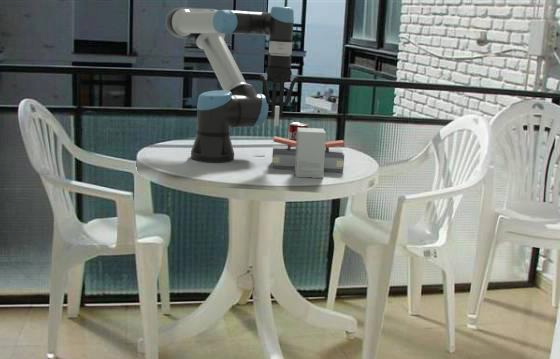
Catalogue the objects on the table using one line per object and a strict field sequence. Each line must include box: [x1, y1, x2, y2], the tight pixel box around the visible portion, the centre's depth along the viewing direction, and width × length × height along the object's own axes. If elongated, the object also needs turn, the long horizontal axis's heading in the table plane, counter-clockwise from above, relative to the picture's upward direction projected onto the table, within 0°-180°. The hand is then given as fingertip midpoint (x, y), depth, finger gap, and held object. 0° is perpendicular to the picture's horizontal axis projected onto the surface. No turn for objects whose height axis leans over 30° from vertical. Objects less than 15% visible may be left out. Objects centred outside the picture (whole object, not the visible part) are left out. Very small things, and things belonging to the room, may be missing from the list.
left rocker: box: [272, 135, 296, 147], centre depth 234 cm, size 11×4×1 cm, turn 91°
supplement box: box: [294, 127, 327, 179], centre depth 223 cm, size 9×9×15 cm
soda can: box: [287, 122, 310, 147], centre depth 253 cm, size 7×7×12 cm
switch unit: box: [271, 145, 345, 173], centre depth 235 cm, size 24×10×7 cm, turn 90°
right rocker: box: [325, 139, 345, 149], centre depth 234 cm, size 11×4×1 cm, turn 90°
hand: (276, 125), depth 232 cm, fingers closed
